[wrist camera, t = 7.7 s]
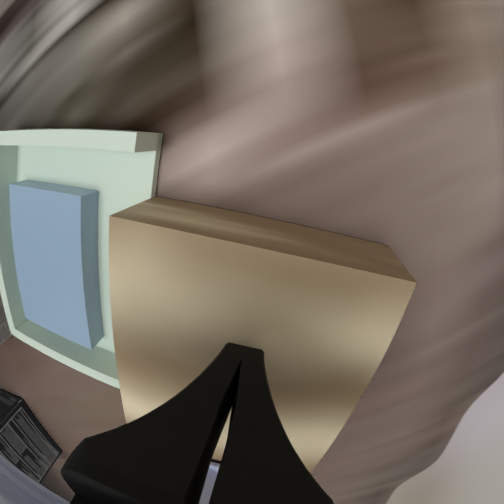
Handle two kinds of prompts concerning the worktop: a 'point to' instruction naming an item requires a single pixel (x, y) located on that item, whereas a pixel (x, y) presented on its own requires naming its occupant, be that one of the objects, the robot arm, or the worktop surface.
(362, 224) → the worktop surface
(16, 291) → the tray
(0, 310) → the coffee box
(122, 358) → the tan flat block
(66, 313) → the blue rectangular block
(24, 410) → the small box
